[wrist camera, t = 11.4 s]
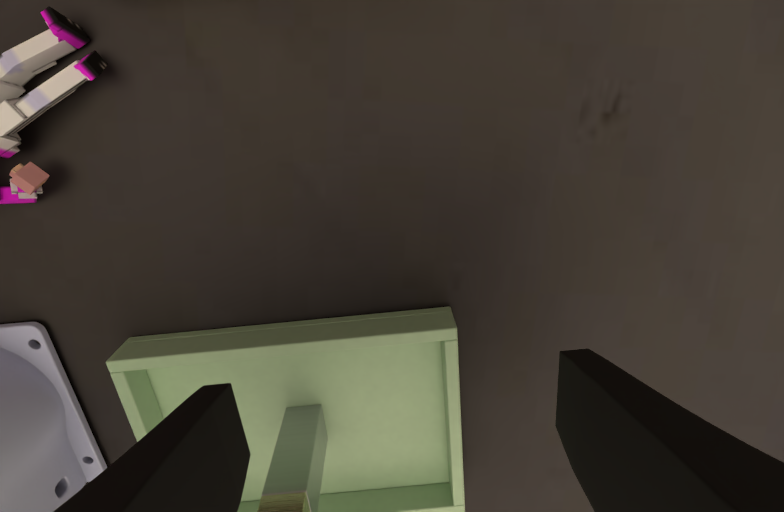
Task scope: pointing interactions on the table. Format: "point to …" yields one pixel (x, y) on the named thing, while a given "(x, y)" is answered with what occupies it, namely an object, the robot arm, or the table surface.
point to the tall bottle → (296, 462)
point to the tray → (324, 400)
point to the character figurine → (38, 93)
